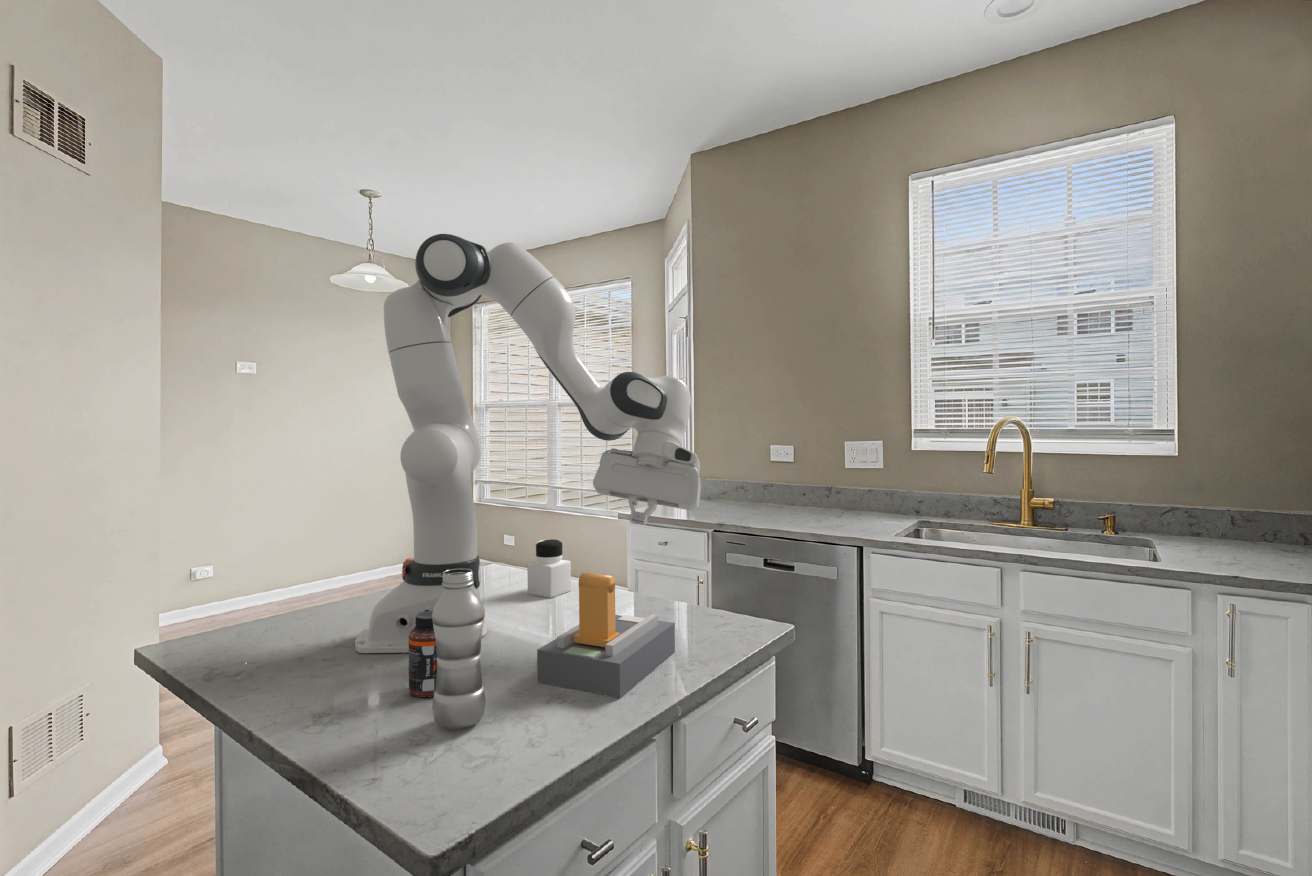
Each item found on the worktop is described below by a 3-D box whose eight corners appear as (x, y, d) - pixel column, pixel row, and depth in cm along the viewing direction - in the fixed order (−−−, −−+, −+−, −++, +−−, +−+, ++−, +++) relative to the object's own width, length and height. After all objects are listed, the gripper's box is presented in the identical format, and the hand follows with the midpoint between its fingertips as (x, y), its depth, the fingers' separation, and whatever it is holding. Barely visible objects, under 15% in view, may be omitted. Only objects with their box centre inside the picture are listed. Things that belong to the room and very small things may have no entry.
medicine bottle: (571, 591, 149) (571, 539, 149) (550, 598, 143) (550, 544, 143) (548, 587, 153) (547, 536, 153) (527, 594, 147) (526, 541, 147)
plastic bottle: (439, 714, 87) (436, 566, 87) (490, 711, 88) (488, 565, 87) (426, 737, 81) (423, 578, 80) (481, 735, 81) (479, 577, 81)
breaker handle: (587, 634, 103) (586, 569, 103) (620, 639, 101) (620, 573, 100) (573, 642, 99) (573, 575, 99) (608, 647, 97) (607, 579, 97)
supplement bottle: (438, 700, 91) (437, 621, 91) (400, 697, 93) (399, 619, 92) (459, 683, 97) (458, 609, 97) (423, 680, 99) (422, 607, 98)
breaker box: (602, 640, 116) (602, 604, 116) (674, 652, 110) (674, 613, 110) (537, 682, 98) (537, 639, 97) (620, 698, 92) (619, 652, 92)
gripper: (600, 439, 124) (580, 506, 118) (705, 456, 119) (689, 526, 113) (607, 454, 129) (587, 518, 123) (708, 470, 125) (692, 538, 119)
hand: (637, 522), depth 118 cm, fingers closed
